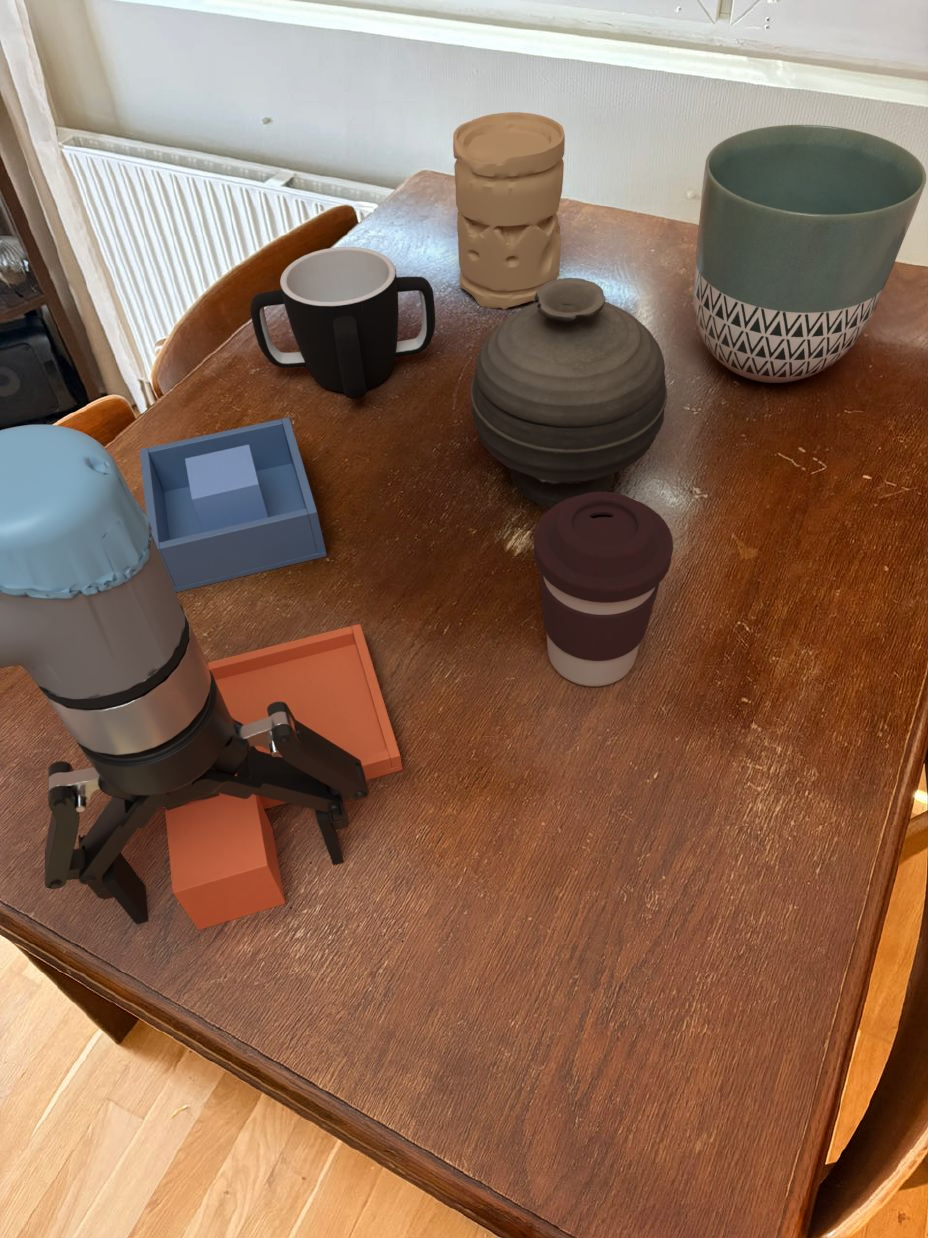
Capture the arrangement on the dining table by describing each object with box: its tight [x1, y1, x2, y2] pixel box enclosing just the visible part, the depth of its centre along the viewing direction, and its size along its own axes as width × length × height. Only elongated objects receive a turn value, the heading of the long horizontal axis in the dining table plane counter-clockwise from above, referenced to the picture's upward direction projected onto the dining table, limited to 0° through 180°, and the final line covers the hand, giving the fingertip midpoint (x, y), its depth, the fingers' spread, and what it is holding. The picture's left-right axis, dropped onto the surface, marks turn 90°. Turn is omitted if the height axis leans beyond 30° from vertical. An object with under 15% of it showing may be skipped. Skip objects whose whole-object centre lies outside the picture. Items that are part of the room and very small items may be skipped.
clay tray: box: [174, 623, 404, 810], centre depth 70 cm, size 17×14×2 cm
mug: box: [249, 246, 436, 400], centre depth 98 cm, size 16×16×12 cm
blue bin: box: [139, 416, 328, 594], centre depth 85 cm, size 15×15×6 cm
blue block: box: [185, 445, 269, 532], centre depth 84 cm, size 6×6×6 cm
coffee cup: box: [533, 491, 674, 687], centre depth 69 cm, size 10×10×15 cm
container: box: [452, 111, 566, 311], centre depth 107 cm, size 13×13×18 cm
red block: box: [164, 794, 286, 931], centre depth 61 cm, size 6×6×6 cm
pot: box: [469, 277, 668, 509], centre depth 82 cm, size 18×18×20 cm
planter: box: [692, 124, 927, 384], centre depth 92 cm, size 20×20×21 cm
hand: (239, 875), depth 63 cm, fingers open, 13 cm apart
